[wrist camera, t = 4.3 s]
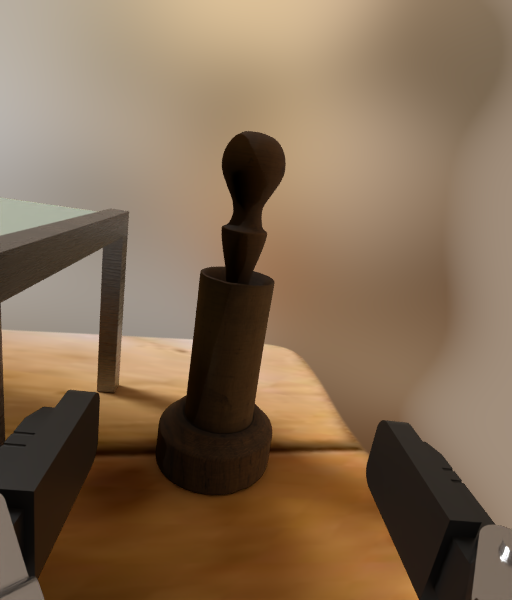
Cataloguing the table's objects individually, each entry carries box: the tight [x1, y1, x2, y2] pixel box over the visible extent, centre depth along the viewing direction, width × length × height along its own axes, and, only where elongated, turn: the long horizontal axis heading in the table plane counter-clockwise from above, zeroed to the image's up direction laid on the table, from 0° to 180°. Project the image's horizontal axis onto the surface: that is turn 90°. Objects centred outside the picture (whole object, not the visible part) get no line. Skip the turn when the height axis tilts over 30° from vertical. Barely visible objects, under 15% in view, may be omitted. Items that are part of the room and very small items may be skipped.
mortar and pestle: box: [156, 131, 285, 495], centre depth 21 cm, size 7×6×18 cm
